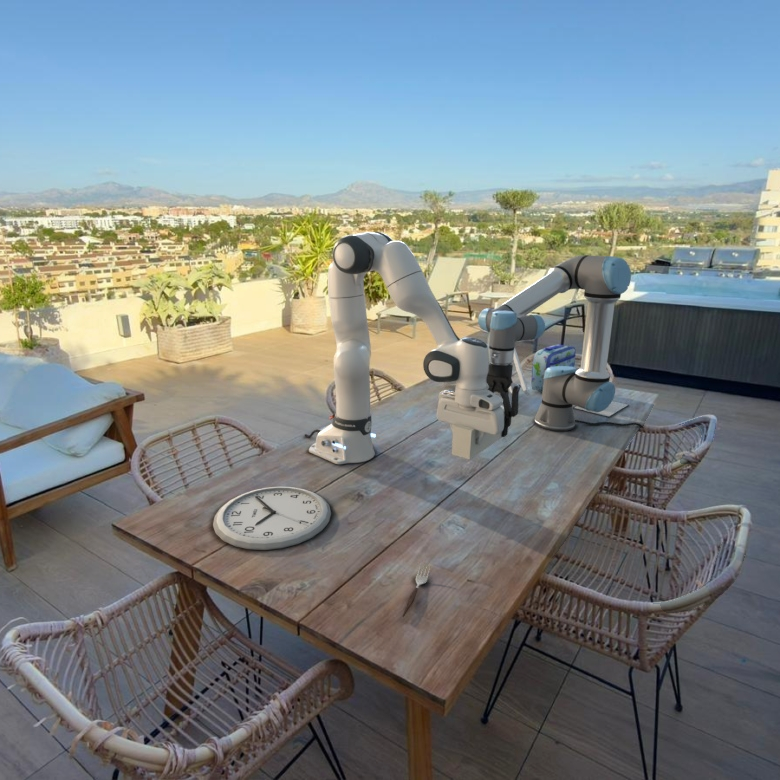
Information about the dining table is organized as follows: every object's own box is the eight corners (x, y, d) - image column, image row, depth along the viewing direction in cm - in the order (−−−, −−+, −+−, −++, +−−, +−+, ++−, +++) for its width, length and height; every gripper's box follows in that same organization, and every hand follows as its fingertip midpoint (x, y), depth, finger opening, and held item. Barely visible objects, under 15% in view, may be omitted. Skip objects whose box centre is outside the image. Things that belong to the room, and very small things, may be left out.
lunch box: (547, 397, 237) (552, 352, 231) (526, 391, 245) (531, 348, 238) (574, 386, 255) (580, 344, 249) (554, 381, 262) (559, 340, 256)
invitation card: (608, 416, 214) (573, 407, 224) (608, 416, 214) (573, 408, 224) (628, 404, 229) (594, 396, 238) (628, 405, 229) (594, 397, 238)
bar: (491, 429, 171) (493, 403, 168) (508, 433, 167) (510, 407, 165) (451, 454, 151) (453, 425, 149) (469, 459, 148) (471, 430, 145)
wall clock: (329, 541, 123) (198, 546, 121) (329, 547, 124) (199, 552, 121) (332, 482, 152) (226, 484, 149) (332, 487, 152) (226, 489, 150)
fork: (396, 617, 102) (396, 608, 101) (420, 569, 116) (420, 561, 116) (409, 620, 101) (409, 612, 101) (431, 572, 116) (431, 564, 115)
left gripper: (433, 391, 151) (431, 435, 155) (498, 406, 139) (494, 453, 143) (444, 386, 155) (442, 429, 160) (508, 400, 144) (504, 446, 148)
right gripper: (466, 359, 162) (462, 429, 169) (524, 370, 151) (517, 444, 158) (478, 355, 167) (473, 423, 174) (534, 365, 157) (527, 436, 164)
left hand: (467, 441), depth 151 cm, fingers closed on bar, 6 cm apart
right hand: (494, 432), depth 166 cm, fingers closed on bar, 6 cm apart
